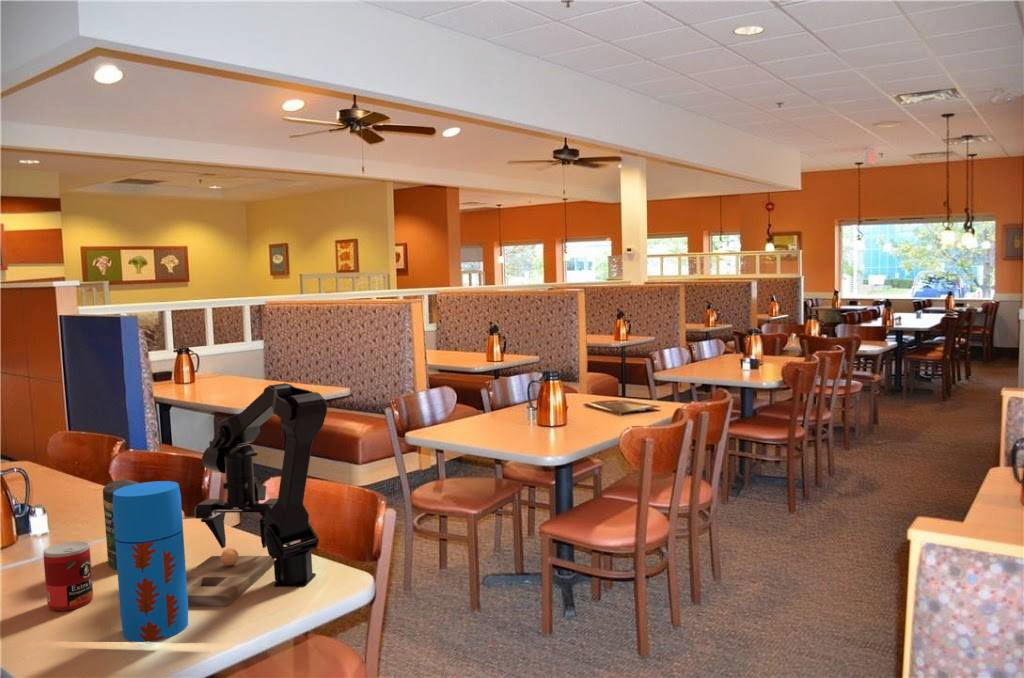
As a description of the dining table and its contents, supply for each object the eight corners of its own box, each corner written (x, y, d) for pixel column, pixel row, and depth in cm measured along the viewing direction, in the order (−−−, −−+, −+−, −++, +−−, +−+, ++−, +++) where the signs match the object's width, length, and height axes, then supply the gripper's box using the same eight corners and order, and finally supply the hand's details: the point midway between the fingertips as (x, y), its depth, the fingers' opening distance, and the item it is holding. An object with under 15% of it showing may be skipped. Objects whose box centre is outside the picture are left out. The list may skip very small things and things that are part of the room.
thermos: (136, 618, 146) (126, 482, 144) (197, 614, 147) (188, 479, 145) (111, 645, 135) (101, 498, 134) (177, 640, 136) (167, 494, 134)
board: (274, 565, 172) (274, 555, 172) (227, 606, 150) (227, 595, 150) (212, 565, 174) (211, 555, 173) (156, 605, 152) (156, 595, 152)
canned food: (74, 612, 150) (69, 554, 149) (37, 610, 152) (32, 553, 151) (102, 596, 158) (98, 541, 157) (67, 595, 159) (63, 540, 159)
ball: (242, 562, 168) (241, 546, 168) (234, 568, 165) (233, 551, 165) (226, 562, 169) (225, 546, 168) (218, 568, 165) (217, 551, 165)
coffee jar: (103, 564, 177) (97, 481, 176) (141, 555, 182) (136, 474, 181) (116, 575, 169) (109, 488, 168) (155, 565, 175) (149, 481, 173)
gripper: (295, 466, 180) (299, 535, 181) (215, 467, 182) (219, 535, 183) (276, 479, 169) (280, 552, 170) (191, 480, 171) (195, 552, 172)
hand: (244, 547), depth 174 cm, fingers open, 9 cm apart
